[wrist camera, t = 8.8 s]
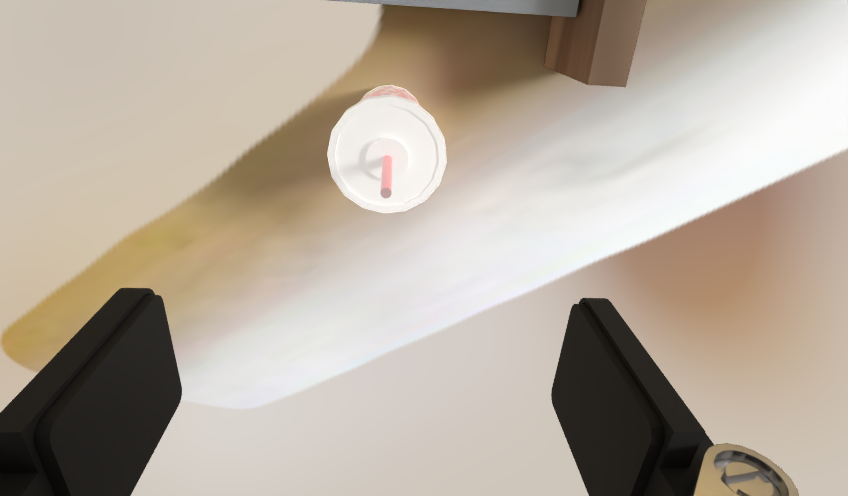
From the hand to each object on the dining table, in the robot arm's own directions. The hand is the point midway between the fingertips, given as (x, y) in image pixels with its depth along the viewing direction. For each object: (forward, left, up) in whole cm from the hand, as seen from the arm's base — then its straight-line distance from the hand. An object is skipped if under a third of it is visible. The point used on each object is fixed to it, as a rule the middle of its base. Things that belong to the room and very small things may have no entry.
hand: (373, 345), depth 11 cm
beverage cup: (0, 0, -24) cm, 24 cm away
